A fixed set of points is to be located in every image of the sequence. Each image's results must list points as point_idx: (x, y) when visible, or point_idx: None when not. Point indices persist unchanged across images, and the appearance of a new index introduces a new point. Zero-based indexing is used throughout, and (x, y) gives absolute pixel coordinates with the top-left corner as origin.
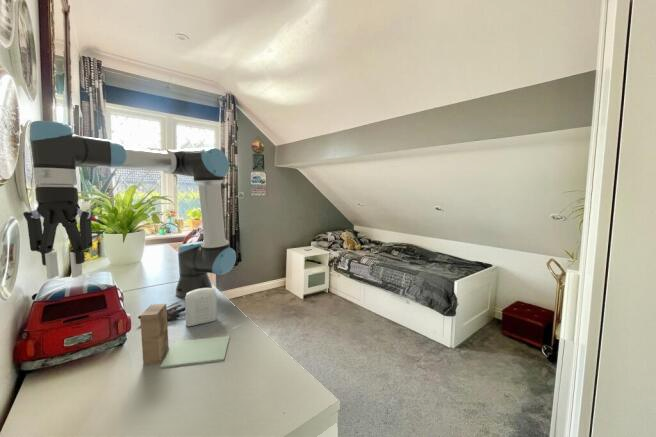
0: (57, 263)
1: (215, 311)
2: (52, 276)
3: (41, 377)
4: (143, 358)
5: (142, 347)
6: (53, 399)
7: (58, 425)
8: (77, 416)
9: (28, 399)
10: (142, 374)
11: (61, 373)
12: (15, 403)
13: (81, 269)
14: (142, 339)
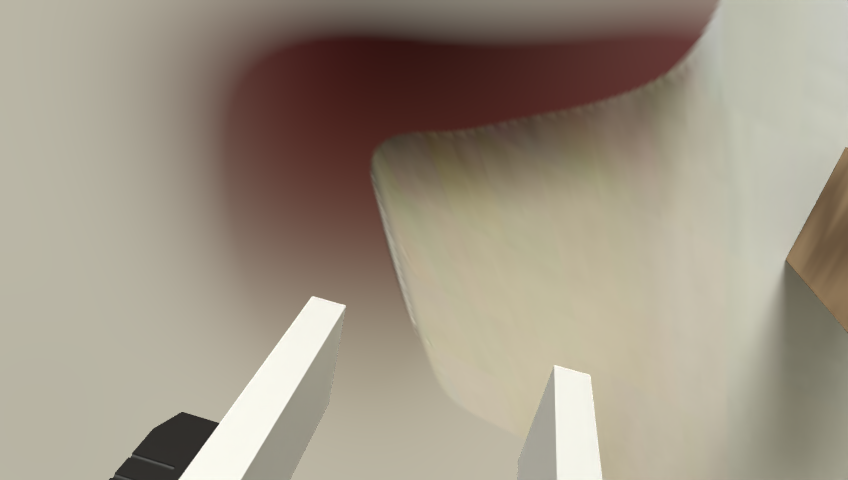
0: (285, 412)
1: None
2: (325, 398)
3: (415, 164)
4: (799, 273)
5: (822, 301)
6: (506, 322)
7: None
8: None
9: (432, 286)
10: (777, 324)
11: (476, 169)
12: (404, 289)
13: (592, 428)
14: (844, 325)
